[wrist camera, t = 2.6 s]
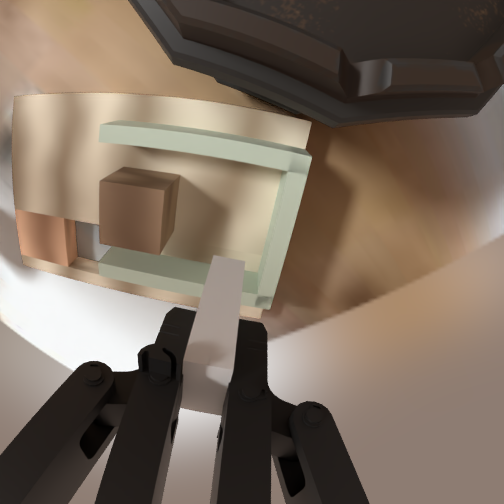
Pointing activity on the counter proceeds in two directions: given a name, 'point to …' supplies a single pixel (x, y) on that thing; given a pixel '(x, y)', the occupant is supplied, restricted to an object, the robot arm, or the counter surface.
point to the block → (138, 209)
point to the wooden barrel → (341, 53)
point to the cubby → (227, 147)
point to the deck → (119, 155)
